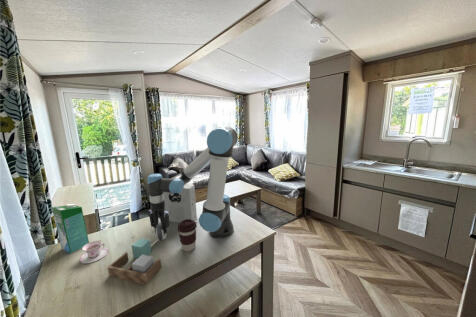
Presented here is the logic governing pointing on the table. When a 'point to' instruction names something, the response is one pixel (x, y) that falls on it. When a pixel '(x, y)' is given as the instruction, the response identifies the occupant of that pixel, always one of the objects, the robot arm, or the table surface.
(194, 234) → the coffee cup
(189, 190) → the cereal box
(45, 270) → the table surface
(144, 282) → the wooden tray
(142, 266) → the slate block
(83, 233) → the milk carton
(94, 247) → the teacup
